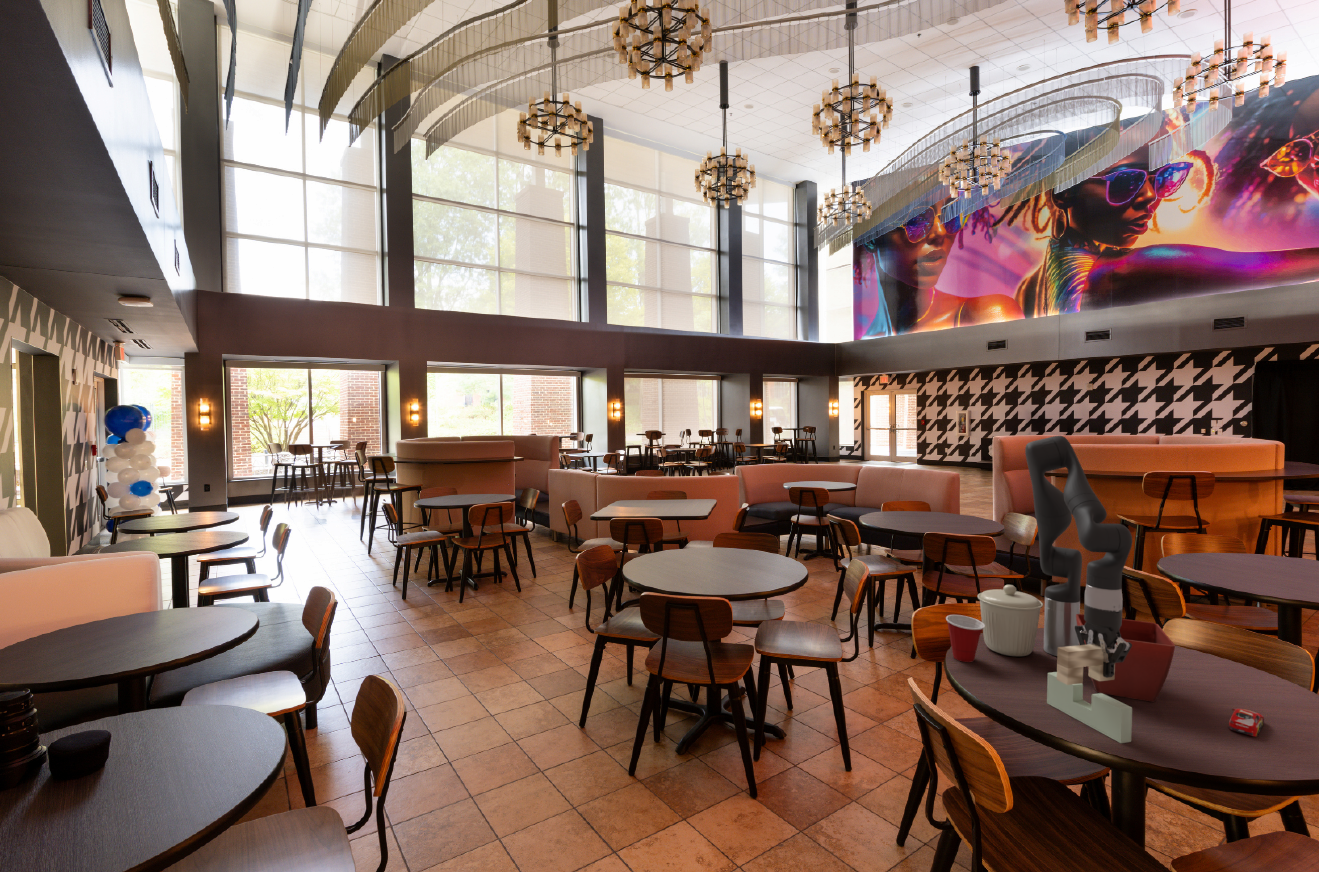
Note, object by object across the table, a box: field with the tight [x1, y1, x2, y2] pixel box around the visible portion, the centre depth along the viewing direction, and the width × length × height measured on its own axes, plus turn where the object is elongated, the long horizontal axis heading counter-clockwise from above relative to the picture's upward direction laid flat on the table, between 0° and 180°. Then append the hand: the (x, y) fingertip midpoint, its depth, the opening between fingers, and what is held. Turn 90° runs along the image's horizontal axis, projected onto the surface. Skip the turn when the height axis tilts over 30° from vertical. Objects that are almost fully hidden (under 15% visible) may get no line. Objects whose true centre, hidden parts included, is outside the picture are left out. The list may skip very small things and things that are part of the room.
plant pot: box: [1076, 613, 1176, 703], centre depth 168 cm, size 19×19×17 cm
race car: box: [1228, 708, 1265, 737], centre depth 148 cm, size 13×5×4 cm, turn 128°
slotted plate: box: [1056, 644, 1115, 685], centre depth 150 cm, size 14×3×8 cm, turn 103°
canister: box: [977, 584, 1044, 657], centre depth 195 cm, size 18×18×21 cm
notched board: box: [1046, 671, 1133, 744], centre depth 150 cm, size 20×3×8 cm, turn 13°
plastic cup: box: [945, 614, 985, 663], centre depth 189 cm, size 11×11×12 cm
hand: (1101, 673), depth 151 cm, fingers closed on slotted plate, 3 cm apart
